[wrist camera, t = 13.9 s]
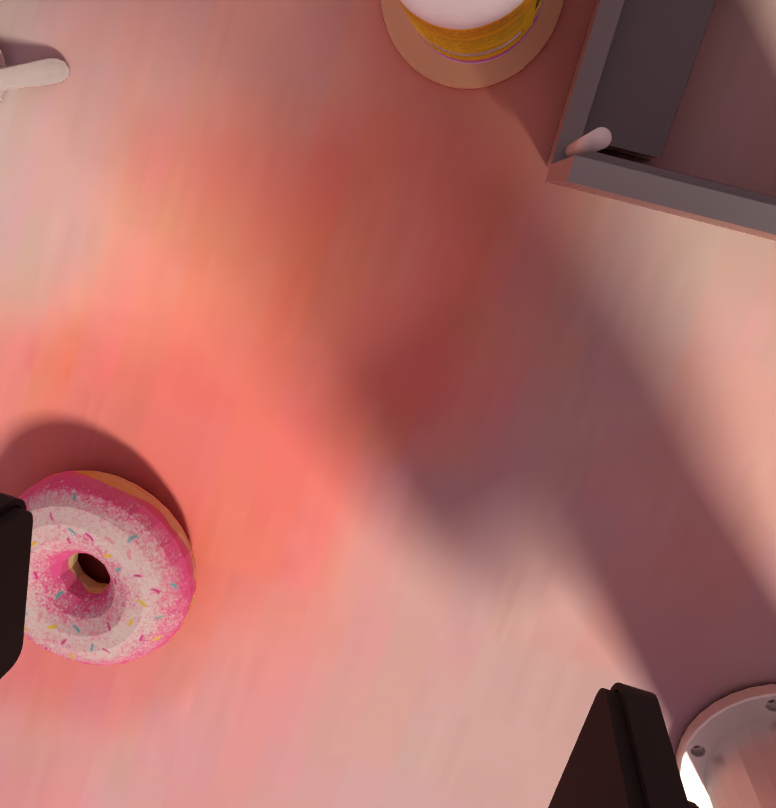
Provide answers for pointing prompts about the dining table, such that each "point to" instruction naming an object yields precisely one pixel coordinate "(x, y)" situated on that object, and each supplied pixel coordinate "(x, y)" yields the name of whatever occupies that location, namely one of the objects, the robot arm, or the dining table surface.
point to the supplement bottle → (472, 26)
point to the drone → (31, 73)
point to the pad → (461, 73)
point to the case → (643, 116)
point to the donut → (124, 560)
